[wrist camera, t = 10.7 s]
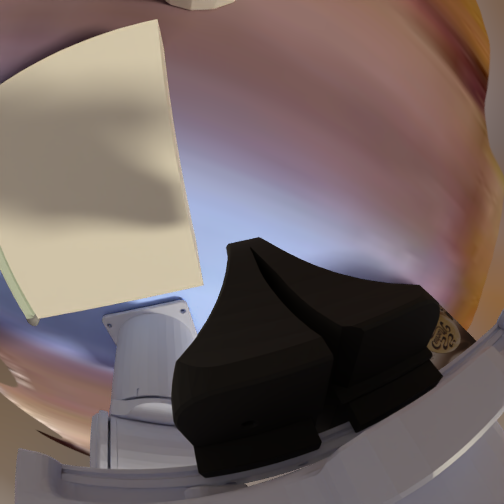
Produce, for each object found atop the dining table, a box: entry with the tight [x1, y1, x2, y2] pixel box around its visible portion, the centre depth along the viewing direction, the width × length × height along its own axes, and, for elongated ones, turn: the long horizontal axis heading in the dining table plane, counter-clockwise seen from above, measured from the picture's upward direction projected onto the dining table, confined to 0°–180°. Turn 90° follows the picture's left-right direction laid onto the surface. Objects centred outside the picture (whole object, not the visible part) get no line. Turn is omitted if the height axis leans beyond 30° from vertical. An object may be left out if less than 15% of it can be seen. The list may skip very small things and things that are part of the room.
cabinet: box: [0, 19, 204, 319], centre depth 13 cm, size 14×12×6 cm
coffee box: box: [427, 305, 476, 370], centre depth 25 cm, size 9×6×16 cm
